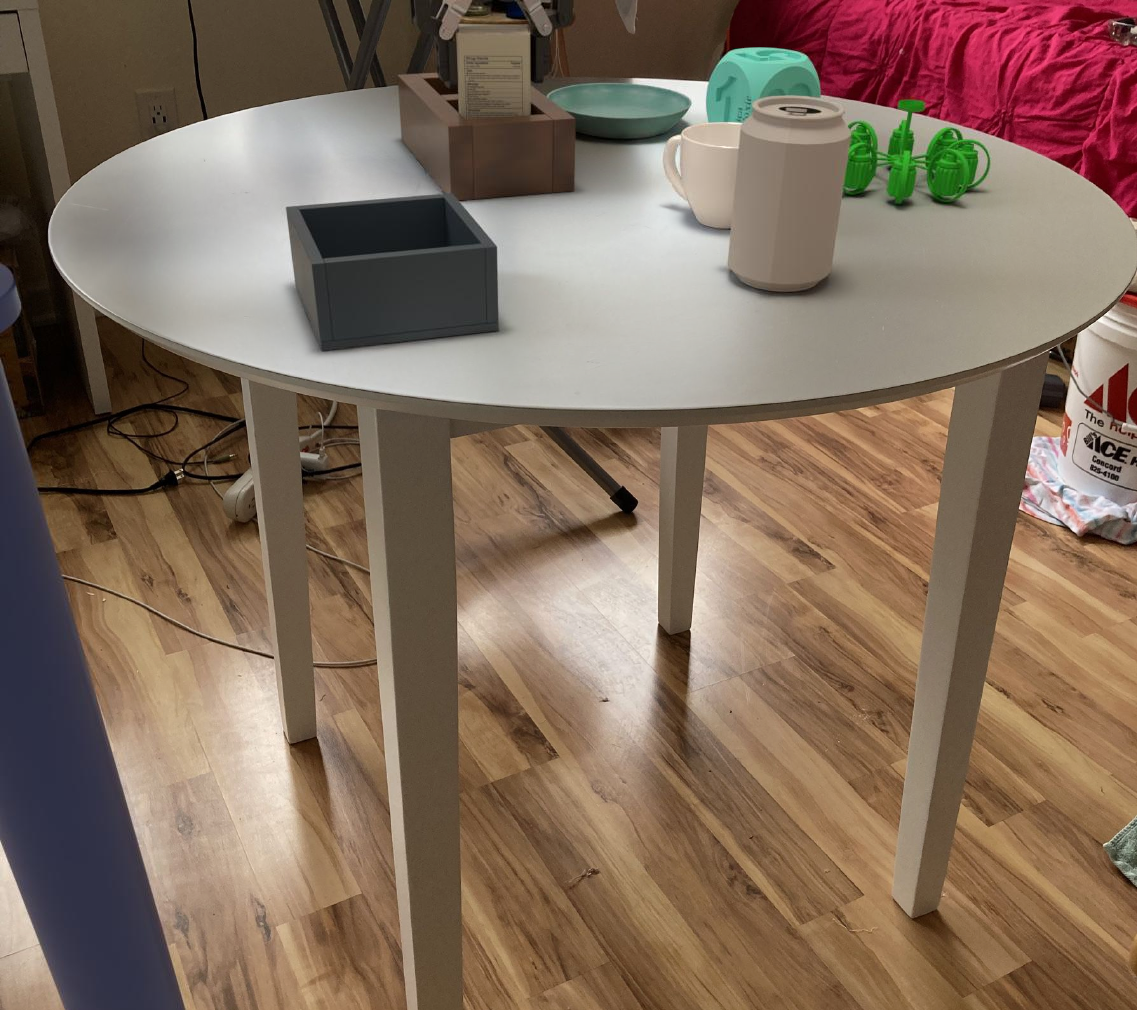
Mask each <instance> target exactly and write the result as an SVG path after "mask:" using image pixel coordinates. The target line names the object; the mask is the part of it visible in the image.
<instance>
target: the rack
mask: <svg viewBox="0 0 1137 1010" xmlns="http://www.w3.org/2000/svg"><path fill="white" fill-rule="evenodd" d="M397 85H398V86H397V88H398V105H399V117H400V118H399V121H400V134H401V142H402V143H403V144H404V145H405V147H406V148H407V149H408V150H409V151H410V153H411V154H412V156H413V157H415V159H416V160H417V161H418V163H419V164H420V165H421V166H422V167H423V169H424V170H425V171H426V172H427V174H429V176H430V177H431V178H432V179H433V180H434V182H435V183H436V184H437V185H438V187H439V188H440V189H441V190H442V191H443V194H448V193H453V195H454V196H455V197H456V198H457V199H458V201H469V200H482V199H493V198H505V197H507V198H508V197H517V196H528V195H530V196H531V195H541V194H551V193H552V194H553V193H563V192H575V174H576V172H575V171H576V170H575V169H576V131H575V124H576V119H575V118H574V117H573V116H571V115H570V114H569V113H567V112H566V111H565V110H563V109H562V108H561V107H559V106H558V105H557V104H555V103H554V102H553V101H551V100H550V99H549V98H547V95H545V94H543V93H542V92H540V91H539V90H538V89H537V88H535V86H533V85H531V84H530V96H531V115H528V116H512V117H497V118H481V119H467V120H466V119H464V118H463V117H462V116H461V115H460V114H459V102H458V88H451V89H449V88H448V87H447V86H446V85H445V83H444V81H442V80H441V79H440V78H439V77H438V74H437V72H425V73H424V72H422V73H405V74H397Z"/></svg>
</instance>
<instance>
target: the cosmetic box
mask: <svg viewBox="0 0 1137 1010" xmlns="http://www.w3.org/2000/svg"><path fill="white" fill-rule="evenodd" d="M530 32H531V27H530V24H527V23H525V24H505V23H502V24H499V23H498V24H495V23H494V24H492V23H487V24H486V23H459V24H458V26H457V28H456V30H455V40H456V46H457V72H458V102H459V114H460V115H461V116H462V117H463V118H464V119H466V120H467V119H481V118H497V117H512V116H528V115H531V96H530V85H531V81H530Z"/></svg>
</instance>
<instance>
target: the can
mask: <svg viewBox="0 0 1137 1010" xmlns="http://www.w3.org/2000/svg"><path fill="white" fill-rule="evenodd" d="M752 109H753V110H754V112H753V113H752V114H751V115H750V116H749V117H748V118H747V119H746V120H745V121H744V122H743V123H742V124H741V130H740V140H739V151H738V161H737V171H736V182H735V192H734V202H733V213H732V223H731V229H730V235H729V244H728V255H727V264H726V265H727V266H728V267H729V269H730V270H731V271H732V272H733V273H734V274H735V275H736V277H737V279H738V280H739V281H740V282H742V283H743V284H745V285H746V286H749V287H752V288H756V289H759V290H764V291H768V292H779V293H786V292H787V293H789V292H790V293H791V292H800V291H805V290H809V289H811V288H813V287H815V286H817V284H818V283H819V282H820V281H822V280H823V279H826V278H827V276H829V274H830V273H831V272H832V268H833V267H832V266H833V260H834V252H835V247H836V239H837V233H838V226H839V220H840V215H841V214H840V213H841V206H842V200H843V194H844V192H843V187H845V186H844V180H845V174H846V167H847V160H848V154H849V147H850V140H851V131H852V130H851V129H849V127H848V124H847V123H846V122H845V119H844V118H843V115H845V114H846V108H845V107H844V106H843V104H840V103H839V102H836V101H833V100H829V99H826V98H816V97H808V96H792V95H789V96H771V97H765V98H761V99H758V100H756V101H755V102H753V103H752Z"/></svg>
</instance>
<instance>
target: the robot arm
mask: <svg viewBox="0 0 1137 1010" xmlns="http://www.w3.org/2000/svg"><path fill="white" fill-rule="evenodd" d="M491 1H493V0H442V4H441V6H440V9H439V10H438V13H437V14H436V16H432V9H431V0H408V3H409V14H410V16H409V17H410V22H411V24H412V26H413V27H414V28H416V29H417V30H418V31H419V32H421V33H423V34H428V35H431V36H433V38H434V47H435V68H436V69H435V70H436V72H435V73H437V74H438V77H439V78H440V79H441V80H442V81H444V83H445V85H446V86H447V87H448V88H449V89H451V88H458V72H457V46H456V39H454V34H456V29H457V26H458V24H460V23H461V20H462V19H463V17H464V16H465V15H466V14H467V13H468V10H469V8H470V7H471V4H472V2H475V3H477V4H480V3H483V4H484V3H489V2H491ZM499 1H500V2H503V3H508V2H511V3H513V2H514V1H515V2H516V4H517V5H518V7H519V8H520V10H521V11H522V13H523V15H524V17H525V18H526V20H527V22H528V25H529V27H530V29H531V31H530V82H532V83H533V84H543V83H544V79H545V76H549V73H550V71H551V37H552V34H553V33H554V32H555V31H556V30H558V29H560V28H562V27H569V26H570V25H571V24H572V22H573V19H574V5H575V4H574V2H575V0H550V8H549V10H547V11H546V10H545V9H544V7H543V5H542V4H543V3H542V0H499Z"/></svg>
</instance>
